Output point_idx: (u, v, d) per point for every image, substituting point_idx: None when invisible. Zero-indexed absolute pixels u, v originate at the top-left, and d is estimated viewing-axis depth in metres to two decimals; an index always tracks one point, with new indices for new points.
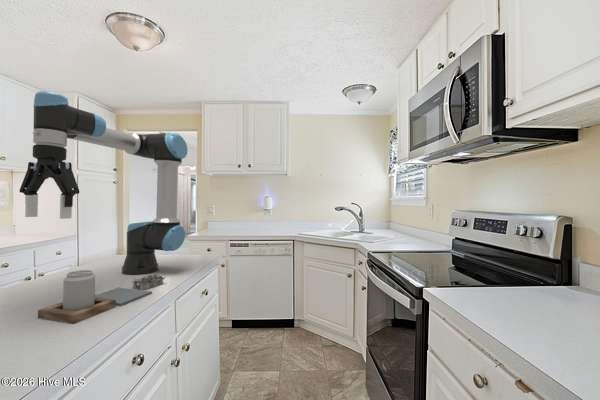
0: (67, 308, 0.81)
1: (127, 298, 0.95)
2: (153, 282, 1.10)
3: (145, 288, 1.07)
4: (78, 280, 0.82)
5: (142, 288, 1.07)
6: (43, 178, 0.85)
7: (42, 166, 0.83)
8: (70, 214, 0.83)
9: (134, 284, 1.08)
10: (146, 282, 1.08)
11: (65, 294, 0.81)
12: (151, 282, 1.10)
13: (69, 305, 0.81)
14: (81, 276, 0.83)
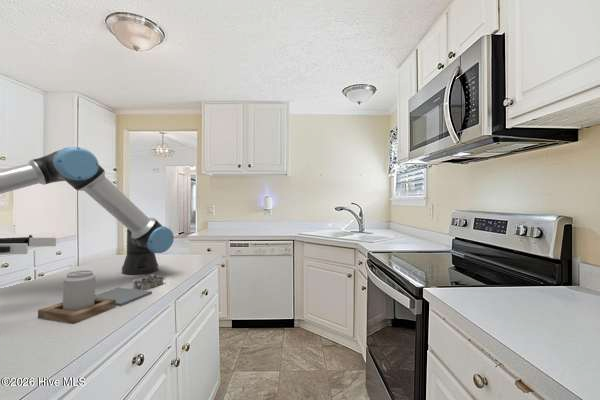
0: (67, 308, 0.81)
1: (127, 298, 0.95)
2: (154, 282, 1.10)
3: (146, 288, 1.07)
4: (78, 280, 0.82)
5: (143, 288, 1.07)
6: (0, 242, 0.82)
7: None
8: (20, 245, 0.75)
9: (135, 284, 1.07)
10: (147, 282, 1.08)
11: (65, 294, 0.81)
12: (152, 282, 1.10)
13: (69, 305, 0.81)
14: (81, 276, 0.83)
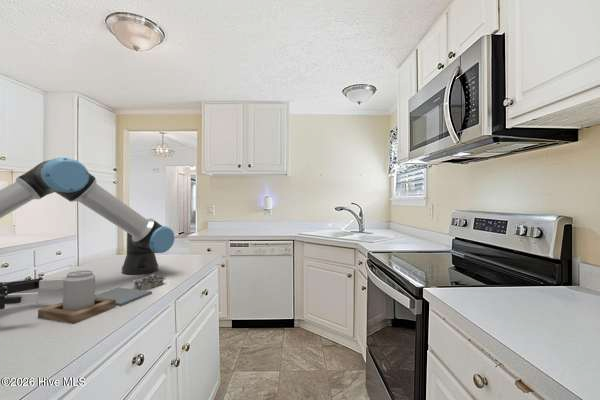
0: (67, 308, 0.81)
1: (127, 298, 0.95)
2: (154, 282, 1.10)
3: (147, 288, 1.07)
4: (78, 280, 0.82)
5: (144, 288, 1.06)
6: (10, 287, 0.83)
7: None
8: (31, 294, 0.75)
9: (135, 284, 1.07)
10: (148, 282, 1.07)
11: (65, 294, 0.81)
12: (152, 282, 1.10)
13: (69, 305, 0.81)
14: (81, 276, 0.83)
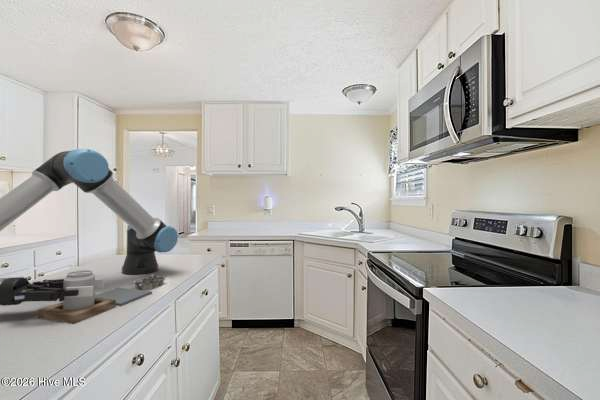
0: (67, 308, 0.81)
1: (127, 298, 0.95)
2: (155, 282, 1.10)
3: (148, 288, 1.07)
4: (78, 280, 0.82)
5: (145, 288, 1.06)
6: (51, 285, 0.85)
7: None
8: (87, 288, 0.81)
9: (136, 285, 1.07)
10: (149, 282, 1.07)
11: None
12: (153, 282, 1.10)
13: (69, 305, 0.81)
14: (81, 276, 0.83)
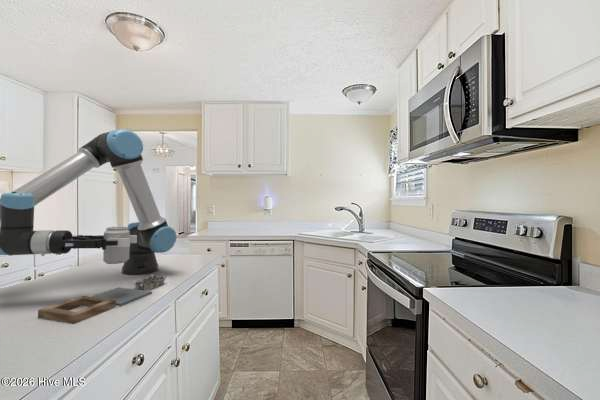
0: (108, 257, 0.93)
1: (127, 298, 0.95)
2: (156, 282, 1.10)
3: (149, 289, 1.07)
4: (117, 233, 0.94)
5: (146, 289, 1.06)
6: (92, 239, 0.97)
7: None
8: (125, 239, 0.94)
9: (137, 285, 1.07)
10: (150, 282, 1.07)
11: None
12: (154, 282, 1.10)
13: (109, 254, 0.93)
14: (119, 229, 0.95)
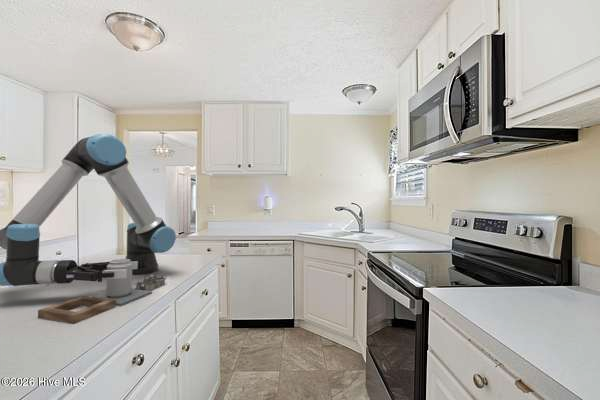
0: (110, 290, 0.94)
1: (127, 298, 0.95)
2: (157, 282, 1.10)
3: (150, 289, 1.07)
4: (119, 267, 0.95)
5: (147, 289, 1.06)
6: (96, 267, 0.99)
7: None
8: (122, 270, 0.93)
9: (138, 285, 1.06)
10: (151, 283, 1.07)
11: (109, 279, 0.95)
12: (155, 282, 1.10)
13: (112, 288, 0.94)
14: (122, 263, 0.96)
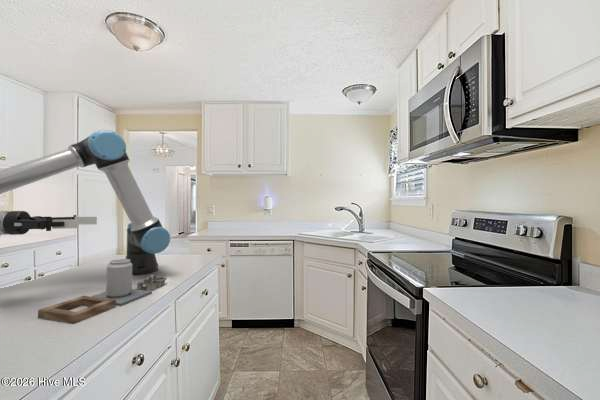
0: (110, 291, 0.94)
1: (127, 298, 0.95)
2: (158, 282, 1.10)
3: (152, 289, 1.06)
4: (119, 267, 0.95)
5: (149, 289, 1.06)
6: (51, 220, 0.95)
7: None
8: (72, 220, 0.88)
9: (139, 286, 1.06)
10: (153, 283, 1.07)
11: (109, 279, 0.95)
12: (156, 283, 1.10)
13: (112, 288, 0.94)
14: (122, 263, 0.96)
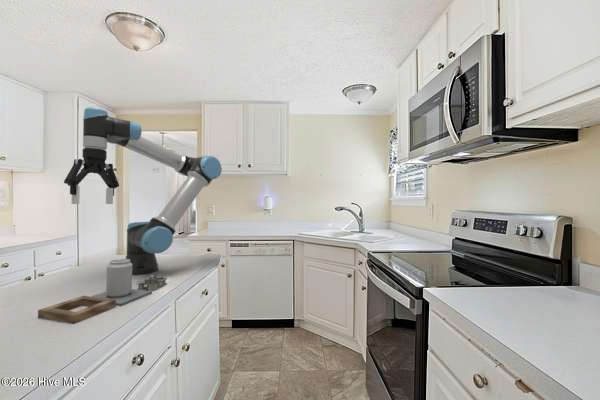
0: (110, 291, 0.94)
1: (127, 298, 0.95)
2: (159, 283, 1.10)
3: (153, 289, 1.06)
4: (119, 267, 0.95)
5: (151, 289, 1.06)
6: (102, 174, 1.12)
7: None
8: (76, 201, 1.02)
9: (140, 286, 1.06)
10: (154, 283, 1.07)
11: (109, 279, 0.95)
12: (157, 283, 1.10)
13: (112, 288, 0.94)
14: (122, 263, 0.96)
